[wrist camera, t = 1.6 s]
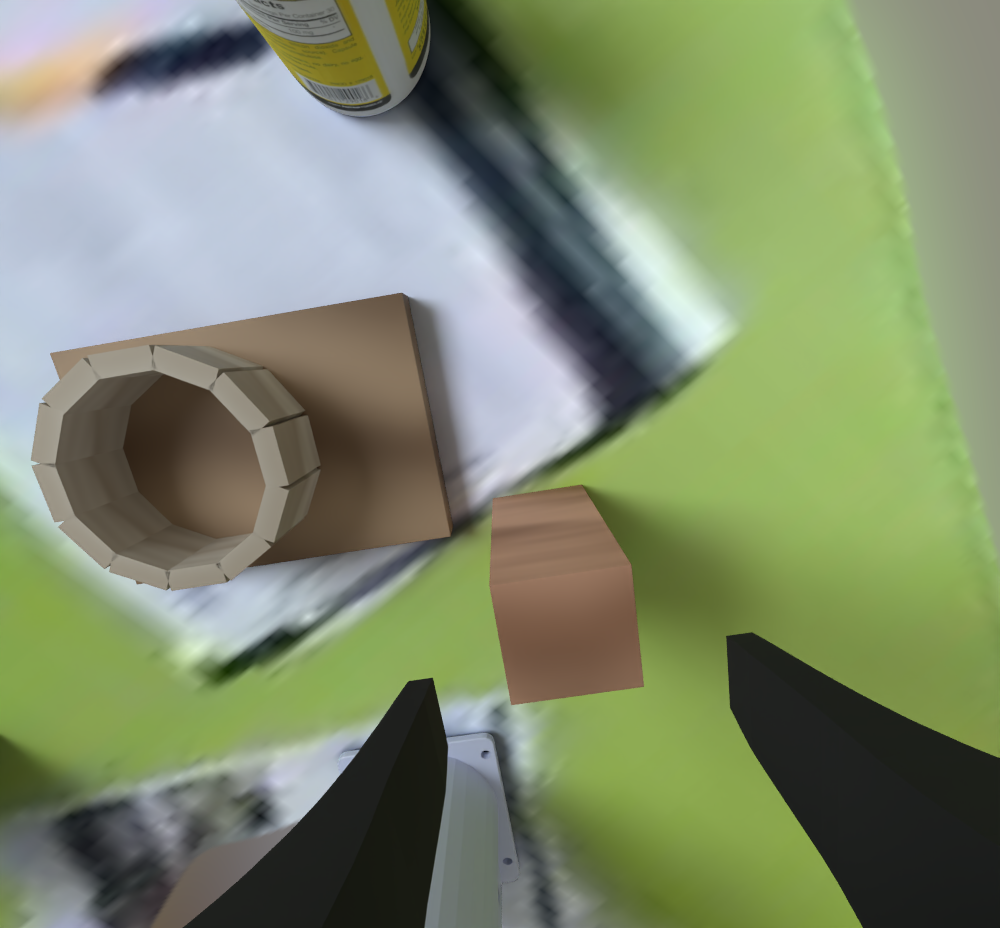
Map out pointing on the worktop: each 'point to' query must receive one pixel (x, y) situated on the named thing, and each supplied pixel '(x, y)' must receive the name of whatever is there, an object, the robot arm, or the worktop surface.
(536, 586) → the peg
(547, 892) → the worktop surface
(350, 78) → the supplement bottle
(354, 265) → the worktop surface
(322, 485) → the caddy board
